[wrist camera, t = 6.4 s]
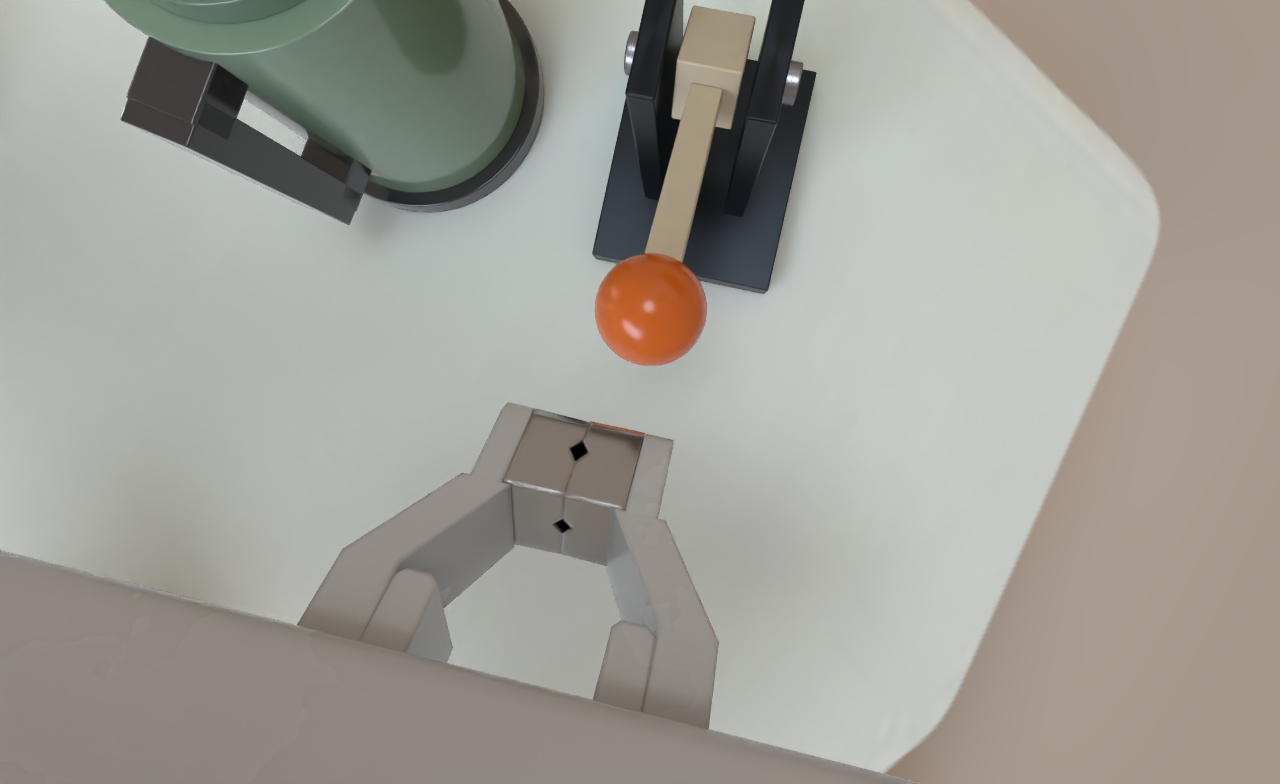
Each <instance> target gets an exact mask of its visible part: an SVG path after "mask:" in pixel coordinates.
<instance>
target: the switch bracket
mask: <svg viewBox="0 0 1280 784" xmlns="http://www.w3.org/2000/svg"><path fill="white" fill-rule="evenodd" d="M804 1H805V0H772V3H771V7H770V11H769V15H768V20H767V24H766V28H765V32H764V37H763V41H762V45H761V49H760V54H759V58H758V61H754V60H749V59H747V63H746V67H745V72H744V77H743V81H742V86H741V90H740V94H739V99H738V103H737V108H736V112H735V116H734V121H733V125H732V128H731V129H725V128H720V127H715V130H714V134H713V138H712V143H711V147H710V151H709V155H708V159H707V163H706V168H705V172H704V176H703V180H702V184H701V188H700V193H699V197H698V201H697V205H696V209H695V213H694V217H693V222H692V226H691V230H690V234H689V238H688V242H687V247H686V251H685V255H684V259H683V264H685V265H686V266H687V267H688V268H689V269H690V270H691V271H692V272H693V273H694V274H695V275H696V277H697V278H698V280H700V281H705V282H710V283H715V284H720V285H724V286H729V287H734V288H739V289H743V290H748V291H753V292H758V293H762V294H765V293H766V292H767V291H768V288H769V283H770V279H771V274H772V270H773V265H774V261H775V257H776V252H777V248H778V243H779V239H780V234H781V230H782V225H783V221H784V216H785V212H786V207H787V203H788V198H789V194H790V189H791V185H792V181H793V176H794V172H795V167H796V163H797V158H798V154H799V149H800V145H801V140H802V136H803V131H804V127H805V122H806V118H807V113H808V109H809V105H810V100H811V96H812V91H813V87H814V82H815V78H816V72H813V71H808V70H803V63H802V62H798V61H793V60H791V59H792V54H793V50H794V45H795V41H796V36H797V32H798V27H799V23H800V18H801V14H802V10H803V5H804ZM682 41H683V0H645V5H644V9H643V14H642V18H641V23H640V28H639V32H638V31H631V32H630V35H629V37H628V41H627V45H626V51H625V60H624V70H625V74H626V75H629V79H628V83H627V88H626V92H625V94H626V100H625V105H624V109H623V114H622V119H621V123H620V128H619V132H618V137H617V142H616V146H615V151H614V155H613V160H612V165H611V169H610V174H609V179H608V183H607V188H606V192H605V197H604V202H603V206H602V211H601V215H600V220H599V225H598V229H597V234H596V239H595V243H594V248H593V252H592V254H593V255H594V257H595V258H596V259H600V260H605V261H610V262H615V263H620V262H622V261H623V260H625V259H627V258H629V257H632V256H635V255H639V254H644V253H645V250H646V246H647V242H648V239H649V235H650V231H651V228H652V224H653V220H654V217H655V213H656V209H657V206H658V202H659V198H660V195H661V191H662V187H663V184H664V180H665V176H666V172H667V169H668V165H669V161H670V158H671V154H672V150H673V147H674V143H675V139H676V136H677V132H678V128H679V125H680V121H681V120H679V119H674V118H672V116H671V114H672V104H673V94H674V83H675V73H676V63H677V58H678V55H679V51H680V48H681V44H682Z"/></svg>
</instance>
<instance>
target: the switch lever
mask: <svg viewBox="0 0 1280 784" xmlns="http://www.w3.org/2000/svg"><path fill="white" fill-rule="evenodd" d="M755 20H756V19H755V17H754V16H748V15H743V14H738V13H732V12H727V11H721V10H716V9H710V8H705V7H700V6H693V7H692V10H691V13H690V17H689V20H688V24H687V27H686V31H685V34H684V37H683V41H682V44H681V48H680V51H679V55H678V58H677V63H676V73H675V83H674V94H673V104H672V114H671V116H672V118H674V119H679V120H681V121H680V125H679V128H678V132H677V136H676V139H675V143H674V147H673V150H672V154H671V158H670V161H669V165H668V169H667V172H666V176H665V180H664V184H663V187H662V191H661V195H660V198H659V202H658V206H657V209H656V213H655V217H654V220H653V224H652V228H651V231H650V235H649V239H648V242H647V246H646V250H645V253H644V254H639V255H635V256H632V257H629V258H627V259H625V260H623V261H622V262H620V263H619V264H617V265H616V266H615V267H614V268H613V269H612V270H611V271H610V272H609V273H608V274H607V275H606V277H605V278H604V280H603V281H602V283H601V285H600V287H599V290H598V293H597V296H596V301H595V318H596V323H597V327H598V330H599V332H600V334H601V336H602V338H603V340H604V341H605V343H606V344H607V345H608V347H609V348H610V349H611V350H612V351H613V352H615V353H616V354H617V355H618V356H620V357H621V358H623V359H625V360H627V361H629V362H631V363H635V364H638V365H644V366H657V365H663V364H667V363H670V362H673V361H675V360H677V359H678V358H680V357H682V356H683V355H685V354H686V353H687V352H688V351H689V350H690V349H691V348H692V347H693V346H694V345H695V343H696V342H697V341H698V339H699V337H700V335H701V333H702V331H703V329H704V325H705V322H706V315H707V304H706V297H705V293H704V290H703V288H702V286H701V283H700V281H699V280H698V278H697V277H696V275H695V274H694V273H693V272H692V271H691V270H690V269H689V268H688V267H687V266H686V265H685V264H683V259H684V255H685V251H686V247H687V242H688V238H689V234H690V230H691V226H692V222H693V217H694V213H695V209H696V205H697V201H698V197H699V193H700V188H701V184H702V180H703V176H704V172H705V168H706V163H707V159H708V155H709V151H710V147H711V143H712V138H713V134H714V130H715V127H720V128H725V129H731V128H732V125H733V121H734V116H735V112H736V108H737V103H738V99H739V94H740V90H741V86H742V81H743V77H744V72H745V67H746V63H747V58H748V53H749V48H750V44H751V39H752V34H753V29H754V25H755Z"/></svg>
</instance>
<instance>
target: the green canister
mask: <svg viewBox="0 0 1280 784" xmlns="http://www.w3.org/2000/svg"><path fill="white" fill-rule="evenodd" d="M104 1H105V2H106V3H107V4H108V5H109V7H111V8H112V9H113V10H114V11H115V12H116V13H117V14H118V15H120V16H121V17H122V18H123V19H124V20H125V21H126V22H128V23H129V24H131V25H132V26H134V27H135V28H137V29H138V30H140V31H141V32H143V33H144V34H146V35H147V36H149V37H148V40H147V42H146V45H145V48H144V50H143V53H142V56H141V58H140V61H139V64H138V66H137V69H136V72H135V74H134V77H133V80H132V82H131V85H130V87H129V90H128V93H127V98H128V100H127V102H126V105H125V108H124V110H123V113H122V116H121V120H122V121H123V122H125V123H127V124H129V125H131V126H133V127H136V128H138V129H140V130H142V131H144V132H146V133H148V134H150V135H153V136H155V137H157V138H159V139H161V140H163V141H165V142H167V143H170V144H172V145H174V146H176V147H178V148H180V149H182V150H184V151H187V152H189V153H191V154H193V155H195V156H197V157H199V158H201V159H204V160H206V161H208V162H210V163H212V164H214V165H216V166H218V167H220V168H223V169H225V170H227V171H229V172H231V173H233V174H235V175H237V176H240V177H242V178H244V179H246V180H248V181H250V182H252V183H254V184H257V185H259V186H261V187H263V188H265V189H267V190H269V191H271V192H274V193H276V194H278V195H280V196H282V197H284V198H286V199H288V200H291V201H293V202H295V203H297V204H299V205H301V206H303V207H306V208H308V209H311V210H313V211H315V212H318V213H320V214H323V215H325V216H328V217H330V218H332V219H335V220H337V221H340V222H342V223H345V224H347V225H350V223H351V220H352V218H353V215H354V213H355V211H357V208H358V206H359V203H360V201H361V198H362V195H363V193H364V194H366V195H368V196H369V197H371V198H373V199H375V200H377V201H379V202H381V203H383V204H386V205H389V206H392V207H395V208H398V209H402V210H407V211H413V212H439V211H446V210H451V209H455V208H459V207H462V206H465V205H467V204H470V203H473V202H475V201H477V200H478V199H480V198H482V197H484V196H486V195H487V194H489V193H490V192H492V191H493V190H495V189H496V188H497V187H499V186H500V185H501V184H502V183H503V182H504V181H505V180H506V179H508V178H509V177H510V176H511V174H512V173H513V172H514V171H515V170H516V169H517V167H518V166H519V165H520V164H521V162H522V161H523V159H524V157H525V156H526V154H527V153H528V151H529V149H530V147H531V145H532V143H533V141H534V139H535V136H536V133H537V130H538V127H539V124H540V120H541V115H542V110H543V100H544V83H543V73H542V68H541V63H540V59H539V56H538V53H537V50H536V47H535V45H534V42H533V40H532V38H531V35H530V33H529V31H528V29H527V27H526V25H525V23H524V21H523V20H522V18H521V17H520V15H519V14H518V12H517V11H516V9H515V8H514V7H513V6H512V5H511V3H510V2H509V1H508V0H104ZM244 99H245V100H247V101H248V102H250V103H251V104H253V105H254V106H256V107H257V108H259V109H261V110H262V111H264V112H265V113H267V114H268V115H270V116H271V117H273V118H274V119H276V120H277V121H279V122H280V123H282V124H284V125H285V126H287V127H288V128H290V129H291V130H293V131H294V132H296V133H297V134H299V135H300V136H302V137H303V138H305V139H306V140H307V142H306V145H305V147H304V150H303V152H302V155H301V157H300V156H299V155H297V154H295V153H294V152H292V151H290V150H289V149H287V148H285V147H284V146H282V145H280V144H279V143H277V142H275V141H274V140H272V139H270V138H269V137H267V136H265V135H264V134H262V133H260V132H259V131H257V130H255V129H254V128H252V127H250V126H249V125H247V124H245V123H244V122H242V121H240V120H239V119H237V116H238V113H239V111H240V108H241V105H242V103H243V100H244Z"/></svg>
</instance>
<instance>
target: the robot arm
mask: <svg viewBox="0 0 1280 784" xmlns="http://www.w3.org/2000/svg"><path fill="white" fill-rule="evenodd" d="M673 441H674V440H671V439H666V438H662V437H657V436H653V435H649V434H645V433H642V432H637V431H633V430H628V429H623V428H619V427H614V426H609V425H605V424H600V423H595V422H591V421H590V422H586V421H582V420H578V419H574V418H570V417H567V416H563V415H559V414H555V413H551V412H547V411H543V410H539V409H535V408H530V407H526V406H522V405H518V404H514V403H509V402H508V403H507V404H506V405H505V406H504V407H503V408H502V410H501V412H500V414H499V416H498V418H497V420H496V422H495V424H494V426H493V429H492V431H491V433H490V435H489V437H488V439H487V441H486V443H485V445H484V447H483V449H482V451H481V453H480V455H479V458H478V460H477V462H476V464H475V466H474V468H473V470H472V472H471V474H465V473H461V474H460V475H458V476H457V477H455V478H453V479H452V480H450V481H449V482H447V483H446V484H444V485H442V486H441V487H439V488H438V489H436V490H435V491H433V492H431V493H430V494H428V495H427V496H425V497H424V498H422V499H420V500H419V501H417V502H416V503H414V504H413V505H411V506H409V507H408V508H406V509H405V510H403V511H402V512H400V513H398V514H397V515H395V516H394V517H392V518H391V519H389V520H387V521H386V522H384V523H383V524H381V525H380V526H378V527H376V528H375V529H373V530H372V531H370V532H369V533H367V534H365V535H364V536H362V537H361V538H359V539H358V540H356V541H354V542H353V543H351V544H350V545H348V546H347V547H345V548H343V549H342V551H341V552H340V554H339V556H338V557H337V559H336V561H335V562H334V564H333V566H332V567H331V569H330V571H329V572H328V574H327V576H326V577H325V579H324V581H323V582H322V584H321V586H320V587H319V589H318V591H317V592H316V594H315V596H314V597H313V599H312V601H311V602H310V604H309V606H308V607H307V609H306V611H305V612H304V614H303V616H302V617H301V619H300V621H299V622H298V624H297V625H294V624H291V623H287V622H283V621H279V620H275V619H271V618H267V617H263V616H259V615H255V614H251V613H247V612H243V611H239V610H235V609H231V608H227V607H223V606H219V605H215V604H211V603H207V602H203V601H199V600H195V599H192V598H188V597H184V596H180V595H176V594H172V593H168V592H164V591H160V590H156V589H152V588H148V587H144V586H140V585H136V584H132V583H128V582H124V581H120V580H116V579H112V578H108V577H104V576H100V575H97V574H93V573H89V572H85V571H81V570H77V569H73V568H69V567H65V566H61V565H57V564H53V563H49V562H45V561H41V560H37V559H33V558H29V557H25V556H21V555H17V554H13V553H9V552H5V551H2V550H0V784H923V783H919V782H915V781H911V780H907V779H903V778H899V777H895V776H891V775H887V774H883V773H879V772H875V771H872V770H868V769H864V768H860V767H856V766H852V765H848V764H844V763H840V762H836V761H832V760H828V759H824V758H820V757H816V756H812V755H808V754H804V753H800V752H796V751H793V750H789V749H785V748H781V747H777V746H773V745H769V744H765V743H761V742H757V741H753V740H749V739H745V738H741V737H737V736H733V735H729V734H725V733H721V732H717V731H713V730H710V729H709V721H710V712H711V704H712V695H713V687H714V678H715V670H716V661H717V653H718V644H719V642H718V639H717V637H716V635H715V633H714V630H713V628H712V626H711V623H710V621H709V619H708V616H707V614H706V612H705V610H704V607H703V605H702V603H701V600H700V598H699V596H698V594H697V591H696V589H695V587H694V584H693V582H692V580H691V577H690V575H689V573H688V571H687V568H686V566H685V564H684V561H683V559H682V557H681V554H680V552H679V550H678V548H677V545H676V543H675V541H674V538H673V536H672V534H671V532H670V529H669V527H668V525H667V522H666V521H665V520H661V519H658V514H659V510H660V505H661V500H662V496H663V491H664V486H665V482H666V477H667V472H668V468H669V463H670V458H671V454H672V449H673ZM514 544H517V545H522V546H526V547H531V548H536V549H540V550H545V551H550V552H555V553H559V554H563V555H567V556H571V557H575V558H578V559H582V560H586V561H589V562H593V563H597V564H601V565H604V566H607V571H608V575H609V578H610V581H611V585H612V588H613V591H614V595H615V598H616V601H617V605H618V608H619V612H620V615H621V618H622V620H621V621H620V622H618V623H617V624H615V625H613V626H612V628H611V632H610V636H609V640H608V644H607V647H606V651H605V655H604V659H603V663H602V667H601V671H600V675H599V678H598V682H597V686H596V690H595V694H594V698H593V700H591V699H587V698H583V697H579V696H575V695H571V694H567V693H563V692H559V691H555V690H551V689H548V688H544V687H540V686H536V685H532V684H528V683H524V682H520V681H516V680H512V679H508V678H504V677H500V676H496V675H492V674H488V673H484V672H480V671H476V670H472V669H469V668H465V667H461V666H457V665H453V664H449V663H447V661H448V659H449V656H450V653H451V651H452V648H453V647H452V643H451V639H450V635H449V630H448V626H447V622H446V618H445V614H444V610H443V608H445V607H446V606H447V605H448V604H449V603H450V602H452V601H453V600H454V599H455V598H456V597H457V596H458V595H460V594H461V593H462V592H463V591H464V590H465V589H466V588H468V587H469V586H470V585H471V584H472V583H473V582H474V581H476V580H477V579H478V578H479V577H480V576H481V575H483V574H484V573H485V572H486V571H487V570H488V569H489V568H491V567H492V566H493V565H494V564H495V563H496V562H497V561H499V560H500V559H501V558H502V557H503V556H504V555H505V554H507V553H508V552H509V551H510V550H511V549H512V548H513V547H514Z"/></svg>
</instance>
